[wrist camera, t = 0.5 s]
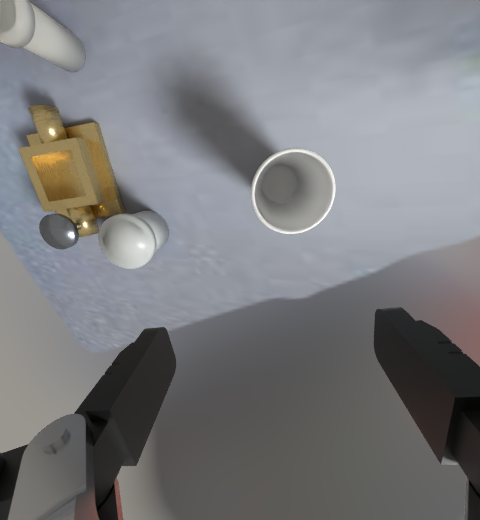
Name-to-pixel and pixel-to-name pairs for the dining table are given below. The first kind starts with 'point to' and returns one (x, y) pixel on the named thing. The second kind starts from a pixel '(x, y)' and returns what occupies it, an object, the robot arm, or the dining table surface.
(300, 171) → the white tall cylinder
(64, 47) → the white mushroom shaped knob
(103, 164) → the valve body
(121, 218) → the cylinder
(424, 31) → the dining table surface
